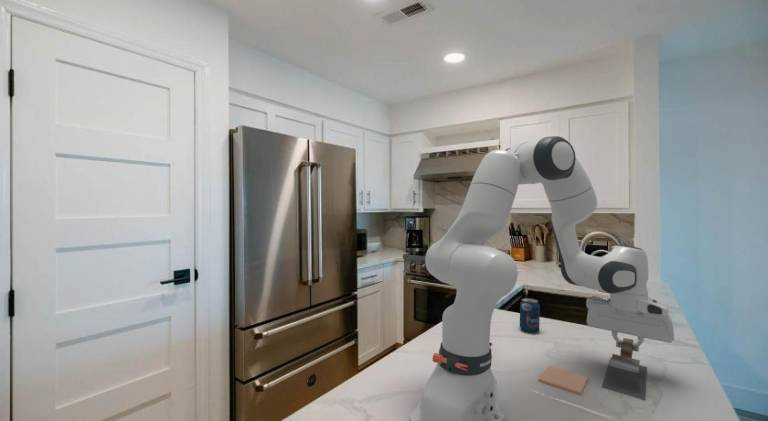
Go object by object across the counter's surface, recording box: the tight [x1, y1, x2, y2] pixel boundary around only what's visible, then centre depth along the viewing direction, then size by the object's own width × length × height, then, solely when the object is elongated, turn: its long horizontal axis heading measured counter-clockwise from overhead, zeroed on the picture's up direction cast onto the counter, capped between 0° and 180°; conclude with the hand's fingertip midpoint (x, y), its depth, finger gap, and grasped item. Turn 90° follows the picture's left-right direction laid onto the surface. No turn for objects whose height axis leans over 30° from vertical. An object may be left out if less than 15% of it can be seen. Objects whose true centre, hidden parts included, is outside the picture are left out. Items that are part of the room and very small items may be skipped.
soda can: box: [519, 297, 541, 335], centre depth 126 cm, size 7×7×12 cm
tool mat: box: [601, 357, 648, 401], centre depth 92 cm, size 22×9×1 cm, turn 140°
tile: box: [538, 365, 589, 396], centre depth 90 cm, size 2×10×10 cm
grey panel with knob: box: [609, 337, 640, 373], centre depth 92 cm, size 18×6×2 cm, turn 140°
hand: (627, 348), depth 95 cm, fingers closed on grey panel with knob, 2 cm apart
